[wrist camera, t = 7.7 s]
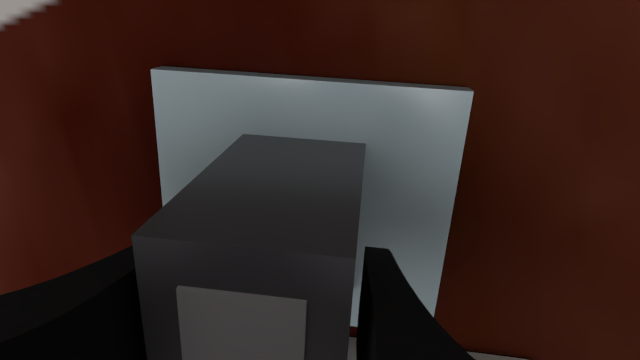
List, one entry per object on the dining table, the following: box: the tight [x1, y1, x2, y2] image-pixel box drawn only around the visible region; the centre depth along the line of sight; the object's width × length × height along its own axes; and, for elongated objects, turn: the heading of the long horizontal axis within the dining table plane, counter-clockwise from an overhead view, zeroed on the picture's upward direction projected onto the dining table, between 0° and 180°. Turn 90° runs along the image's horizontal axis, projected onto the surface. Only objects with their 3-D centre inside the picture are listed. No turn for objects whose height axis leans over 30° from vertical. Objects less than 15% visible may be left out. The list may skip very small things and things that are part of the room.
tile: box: [151, 66, 474, 327], centre depth 15 cm, size 10×9×1 cm
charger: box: [131, 134, 366, 360], centre depth 12 cm, size 4×6×7 cm
